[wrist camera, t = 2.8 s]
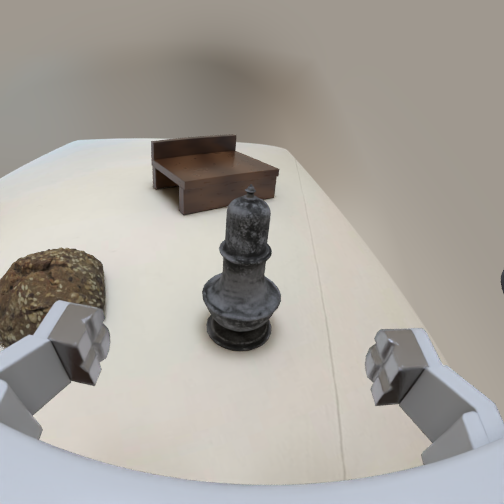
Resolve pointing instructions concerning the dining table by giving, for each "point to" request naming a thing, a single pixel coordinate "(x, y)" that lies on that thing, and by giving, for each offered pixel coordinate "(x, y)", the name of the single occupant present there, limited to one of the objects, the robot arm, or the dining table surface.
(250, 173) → the shelf
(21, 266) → the bread roll
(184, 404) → the dining table surface
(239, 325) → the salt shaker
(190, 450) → the dining table surface
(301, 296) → the dining table surface
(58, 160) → the dining table surface
